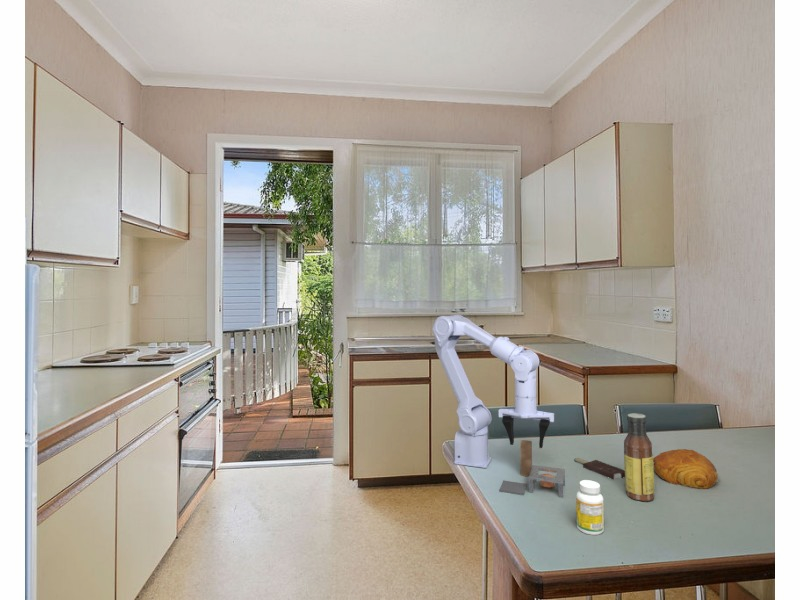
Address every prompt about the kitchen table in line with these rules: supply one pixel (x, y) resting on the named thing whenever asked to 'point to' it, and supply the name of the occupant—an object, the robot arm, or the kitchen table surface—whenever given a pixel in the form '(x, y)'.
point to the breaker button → (545, 483)
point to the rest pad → (513, 487)
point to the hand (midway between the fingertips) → (526, 445)
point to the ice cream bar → (602, 468)
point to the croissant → (685, 468)
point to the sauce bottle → (638, 460)
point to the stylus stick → (526, 457)
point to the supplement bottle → (590, 508)
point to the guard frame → (559, 477)
